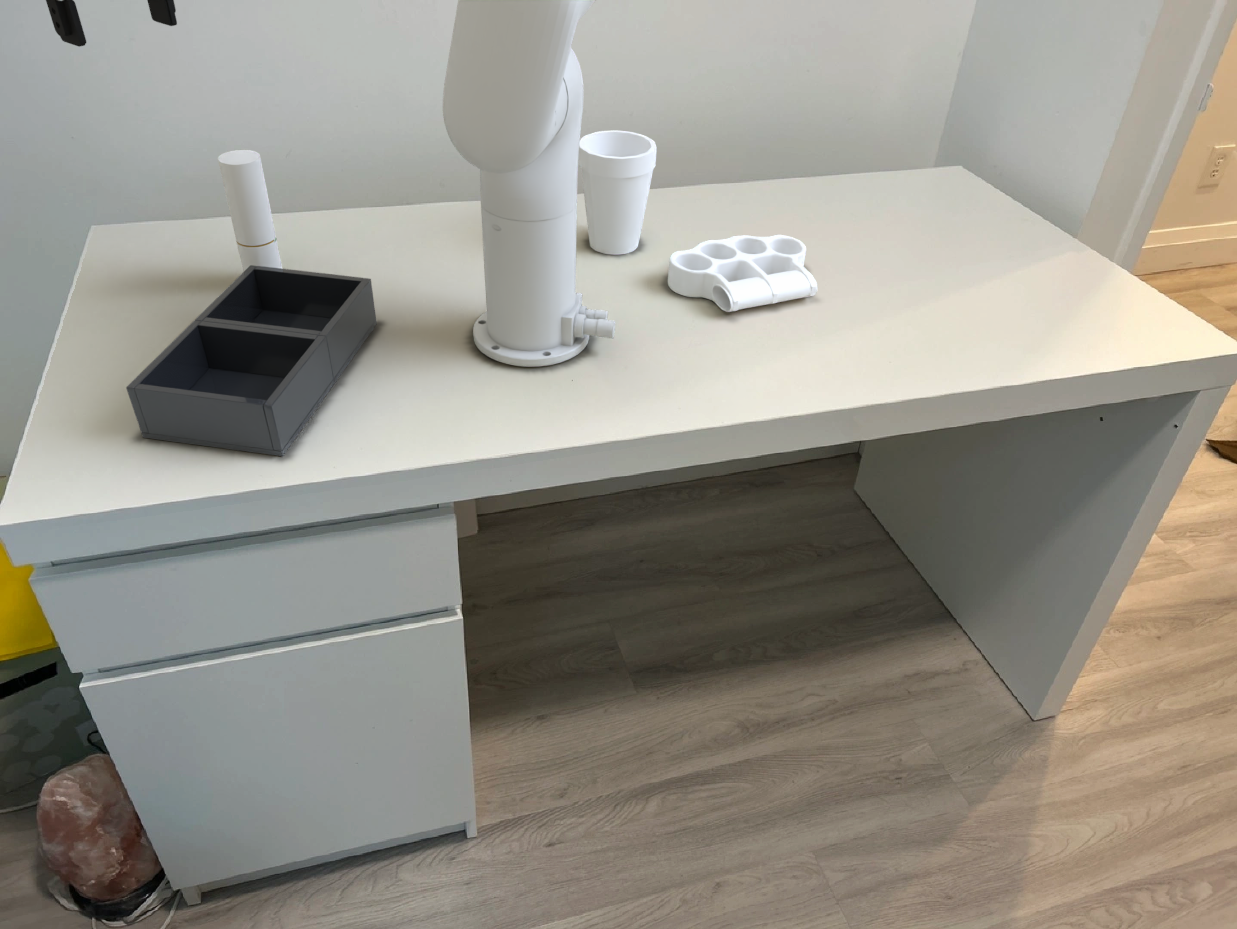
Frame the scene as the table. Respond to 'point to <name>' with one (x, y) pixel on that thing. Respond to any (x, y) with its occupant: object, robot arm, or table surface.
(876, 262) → the table surface
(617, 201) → the foam cup
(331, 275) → the right basin
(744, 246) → the knuckle duster
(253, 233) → the tube
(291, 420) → the left basin
